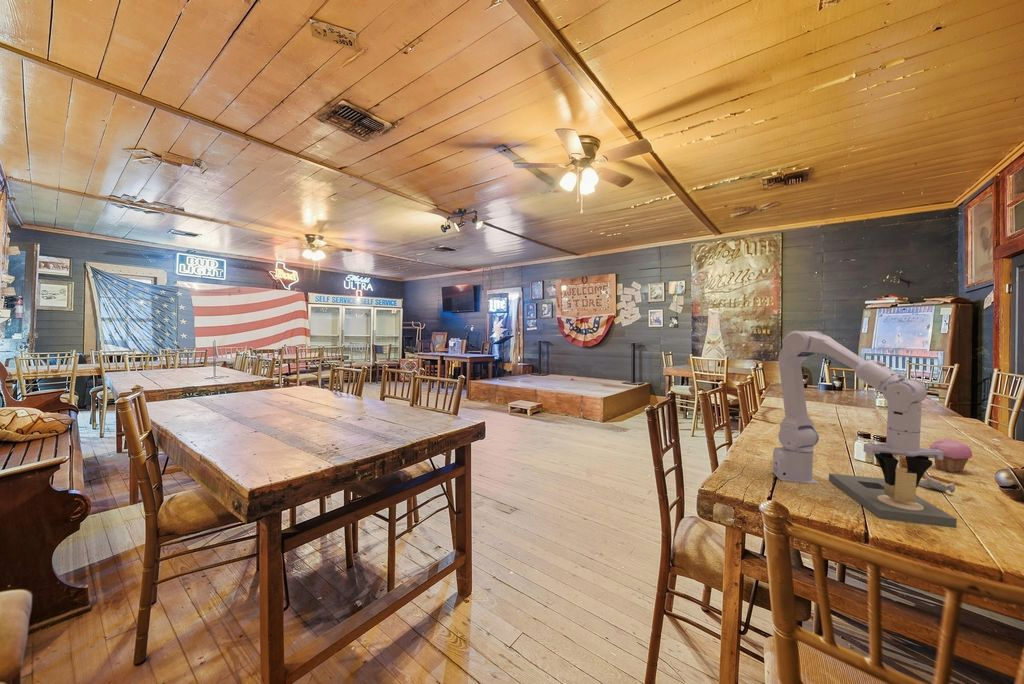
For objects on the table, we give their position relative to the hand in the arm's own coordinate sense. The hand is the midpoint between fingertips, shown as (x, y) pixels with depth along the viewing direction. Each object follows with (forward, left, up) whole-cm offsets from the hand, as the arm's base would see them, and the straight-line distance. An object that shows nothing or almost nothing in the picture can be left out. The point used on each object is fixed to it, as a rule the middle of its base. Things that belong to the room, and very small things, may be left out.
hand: (900, 485), depth 95 cm
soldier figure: (+17, +21, -7) cm, 28 cm away
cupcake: (+35, +41, -7) cm, 54 cm away
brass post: (0, 0, -3) cm, 3 cm away
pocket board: (0, +6, -7) cm, 9 cm away
